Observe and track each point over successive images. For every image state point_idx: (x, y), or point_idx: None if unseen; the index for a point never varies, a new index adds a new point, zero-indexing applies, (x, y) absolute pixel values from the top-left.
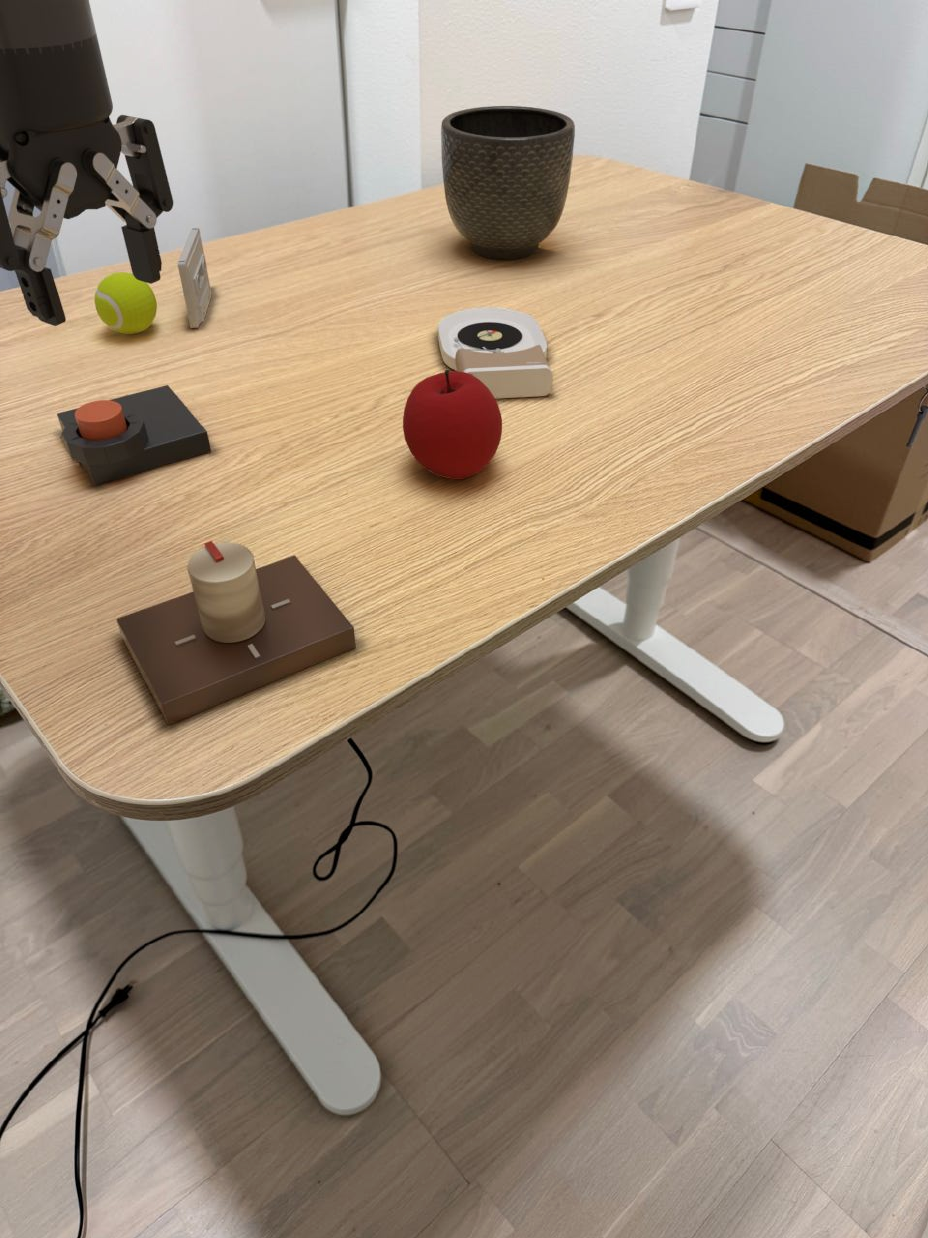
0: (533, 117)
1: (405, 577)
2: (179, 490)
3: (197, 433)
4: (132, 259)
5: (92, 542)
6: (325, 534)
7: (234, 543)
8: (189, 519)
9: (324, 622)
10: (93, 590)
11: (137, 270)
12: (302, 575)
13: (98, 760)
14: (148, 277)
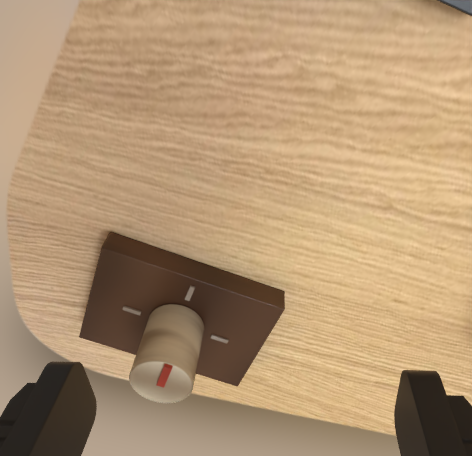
0: None
1: (337, 356)
2: (343, 66)
3: (469, 12)
4: (417, 428)
5: (179, 68)
6: (357, 274)
7: (188, 378)
8: (294, 135)
9: (226, 370)
10: (127, 150)
11: (408, 404)
12: (263, 330)
13: (32, 305)
14: (397, 423)
